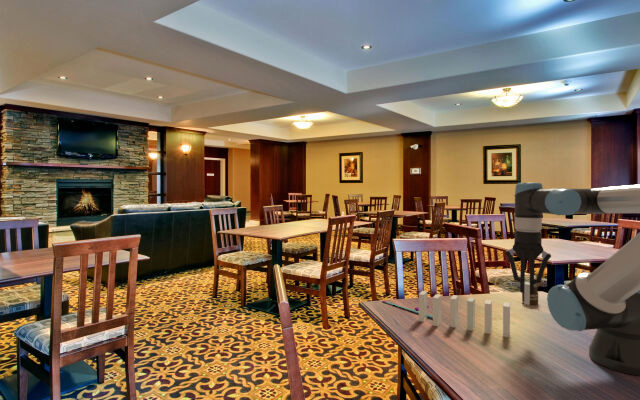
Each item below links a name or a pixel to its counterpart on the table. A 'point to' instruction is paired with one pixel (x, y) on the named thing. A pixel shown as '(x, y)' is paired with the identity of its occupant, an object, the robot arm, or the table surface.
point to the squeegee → (410, 309)
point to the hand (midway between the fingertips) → (526, 303)
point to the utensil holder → (532, 296)
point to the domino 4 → (470, 313)
